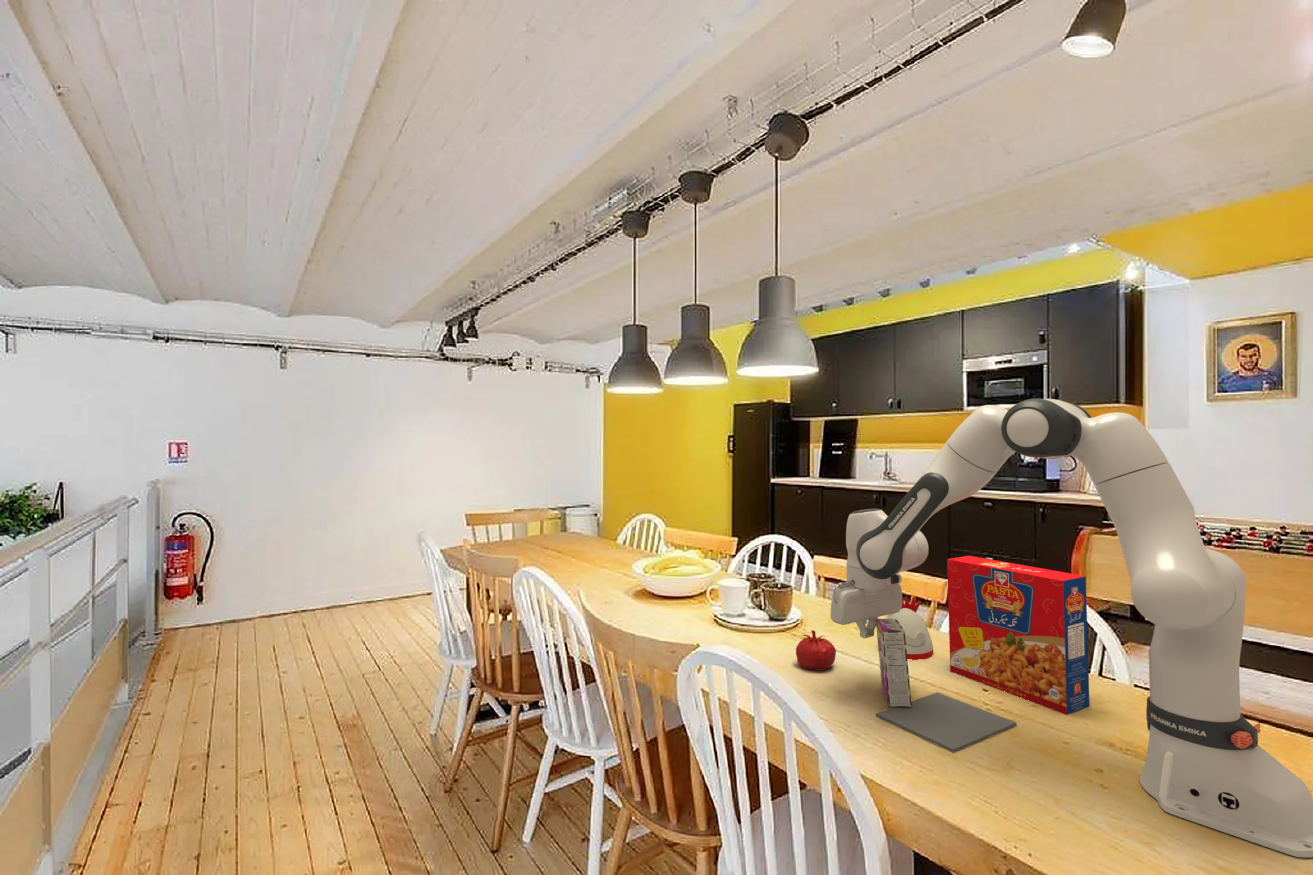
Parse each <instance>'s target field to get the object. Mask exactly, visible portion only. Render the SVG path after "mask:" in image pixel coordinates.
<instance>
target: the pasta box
mask: <svg viewBox="0 0 1313 875" xmlns="http://www.w3.org/2000/svg"><path fill="white" fill-rule="evenodd" d="M946 562H947V564H946V565H947V566H946V568H947V569H946V570H947V571H946V572H947V573H946V574H947V597H948V598H947V603H948V606H947V607H948V637H949V672H950V673H953V674H955V673H956V674H955V675H958V676H961V677H964V678H966V679H968V680H972V681H974V682H977V683H979V682H980V684H983V685H985V686H988V687H991V688H994V689H995V690H998V691H1001V692H1004V691H1005V692H1004V693H1006V692H1007V694H1009V695H1012V696H1014V697H1017V696H1018V697H1017V698H1020V697H1021V698H1020V699H1022V698H1023V700H1026V701H1028V700H1029V701H1028V702H1030V701H1031V703H1033V702H1034V704H1036V705H1039V706H1041V705H1042V707H1044V708H1047V709H1050V710H1053V711H1055V712H1058V713H1059V714H1060V713H1061V714H1063V715H1066V716H1069V715H1071V714H1074V713H1076V712H1079V711H1082V710H1084V709H1088V708H1090V679H1089V678H1090V676H1089V675H1090V674H1089V646H1088V645H1089V642H1088V640H1089V639H1088V638H1089V637H1088V611H1087V610H1088V608H1087V606H1088V605H1087V604H1088V603H1087V577H1086V575H1080V574H1075V573H1069V572H1063V571H1058V570H1053V569H1052V570H1051V569H1047V568H1041V567H1036V566H1029V565H1024V564H1018V563H1012V562H1008V561H1007V562H1006V561H1001V560H994V559H989V558H983V557H978V556H973V555H964V556H959V557H953V558H948V559H946Z"/></svg>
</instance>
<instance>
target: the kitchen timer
mask: <svg viewBox="0 0 1313 875" xmlns="http://www.w3.org/2000/svg"><path fill="white" fill-rule="evenodd" d="M904 600H905V601H904ZM920 604H921V601H920V600H918V601H917V602H916V597H914V596H912V597H911V600H910V601H909V597H908V596H907V595H905V599H904V598H903V597H902V607H901V610H900V611H899V612H898V613H893V614H889V615H887V617H886V618H885V619H897V620H898V622H899V623H900V625H901V626H902V628H903V630H904V631H905V642H906V650H907V659H912V660H911V661H919V660H918V659H923V660H926V659H927V660H928V659H930V658H932V657H933V656H932V655H934V646H933V640H932V638H931V635H930V632H929V629H928V627H927V626H928V624H927V623H926V622H925V621H924V619H922V618H921V616H920V615H919V614H918V613H917V612H918V609H919V608H920Z"/></svg>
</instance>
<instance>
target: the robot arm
mask: <svg viewBox="0 0 1313 875" xmlns="http://www.w3.org/2000/svg"><path fill="white" fill-rule="evenodd" d="M1015 453H1017V454H1019V455H1022V456H1024V457H1028V458H1034V459H1035V458H1036V459H1038V458H1039V459H1046V460H1054V459H1061V458H1070V457H1073V458H1075V459H1077V460H1078V461H1080V463H1081V464H1082V465H1083V466H1084V468H1085V469H1086V472H1087V473H1088V475H1089V477H1090V479H1091V481H1092V483H1093V486H1094V488H1095V490H1096V492H1097V493H1098V496H1099V497H1100V500H1101V502H1102V503H1103V506H1104V508H1105V510H1106V512H1107V514H1108V516H1109V517H1110V518H1109V519H1111V521H1112V524H1113V526H1114V529H1115V531H1116V533H1117V537H1118V540H1119V544H1120V547H1121V550H1122V555H1123V558H1124V562H1125V565H1126V569H1127V573H1128V576H1129V579H1130V583H1131V584H1130V596H1131V600H1132V602H1133V604H1134V607H1135V608H1136V610H1137V611H1138V612H1139V614H1140V615H1141V616H1142V617H1143V618H1144V619H1146V620H1147V621H1149V622H1150V623H1152V624H1153V625H1154V628H1153V629H1154V630H1153V634H1152V640H1151V641H1150V642H1151V643H1150V646H1149V650H1148V677H1149V678H1148V680H1149V681H1148V682H1149V684H1148V685H1149V696H1148V697H1147V698H1146V709H1145V713H1146V714H1145V715H1146V716H1145V717H1146V724H1147V725H1146V727H1147V730H1148V732H1149V734H1148V745H1147V752H1146V756H1145V757H1146V758H1145V762H1144V766H1143V768H1142V772H1141V774H1140V777H1139V782H1140V783H1139V784H1140V786H1142V787H1143V788H1142V789H1144V790H1145V791H1146V792H1147V793H1148V794H1149V795H1151V796H1152V797H1153V799H1155V800H1156V801H1157V802H1158V804H1159V806H1160V808H1161V809H1162V810H1163V811H1164V812H1166V813H1168V814H1171V815H1173V816H1176V817H1179V818H1182V819H1185V820H1188V821H1190V822H1193V823H1196V824H1199V825H1202V826H1205V827H1208V828H1210V829H1214V830H1216V831H1220V832H1222V833H1225V834H1228V835H1231V836H1235V837H1236V838H1240V839H1243V840H1246V841H1249V842H1251V843H1254V844H1256V845H1260V846H1263V847H1266V848H1269V849H1271V850H1274V851H1277V852H1281V853H1284V854H1287V855H1289V856H1293V857H1296V858H1313V798H1312V794H1311V792H1310V790H1309V788H1308V786H1307V785H1306V783H1305V782H1304V781H1303V780H1302V779H1301V778H1300V777H1298V776H1297V775H1296V774H1295V773H1293V771H1291V770H1290V769H1288V768H1287V767H1286V766H1284V765H1283V764H1282V763H1280V761H1278V760H1277V759H1276V758H1275V757H1273V756H1272V755H1271V754H1270V753H1269V752H1267V751H1266V750H1265V749H1263V748H1262V747H1261V746H1260V745H1259V733H1261V723H1256V724H1255V725H1253V724H1251V723H1250V722H1249V721H1248V720H1247V719H1246V718H1245V717H1244V716H1243V714H1241V700H1240V699H1241V691H1240V688H1241V687H1240V659H1241V651H1242V646H1243V645H1242V644H1243V637H1244V636H1243V635H1244V624H1245V611H1246V610H1245V609H1246V594H1247V593H1246V592H1247V579H1246V574H1245V573H1244V570H1243V568H1242V567H1241V565H1240V564H1238V562H1236V561H1235V560H1234V559H1233V558H1232V557H1230V556H1228V555H1226V554H1225V553H1222V552H1219V551H1217V550H1213V549H1210V548H1206V547H1205V545H1204V542H1203V538H1202V535H1201V532H1200V529H1199V526H1198V523H1197V519H1196V514H1195V508H1194V505H1193V504H1192V502H1191V499H1190V498H1189V496H1188V494H1187V493H1186V491H1185V489H1184V487H1183V485H1182V483H1181V481H1180V480H1179V478H1178V476H1177V475H1176V472H1175V471H1174V468H1173V466H1172V465H1171V464H1170V463H1169V460H1168V458H1167V456H1166V455H1165V452H1164V451H1163V450H1162V448H1161V447H1160V446H1159V443H1157V441H1156V440H1155V438H1154V437H1153V436H1152V434H1151V433H1150V431H1148V430H1147V428H1146V427H1145V426H1144V425H1143V424H1142V422H1141V421H1140V420H1139V419H1138V418H1137V417H1135V416H1134V415H1132V414H1130V413H1126V412H1120V411H1119V412H1108V413H1103V414H1099V415H1097V416H1095V417H1092V416H1091V415H1090V414H1089V412H1088V411H1087V410H1086V409H1084V408H1083V407H1081V406H1080V405H1078V404H1076V403H1071V402H1066V401H1064V400H1060V399H1054V398H1030V399H1029V398H1028V399H1025V400H1022V401H1020V402H1018V403H1015V404H1014V405H1013V406H1011V407H1010V408H1009V409H1006V408H1005V407H1002V406H999V405H995V404H994V405H993V404H985V405H981V406H979V407H977V408H976V409H975V410H974V411H973V412H972V413H971V414H969V416H968V417H966V418H965V419H964V420H963V421H962V422H961V424H959V426H958V427H957V428H956V429H955V430H954V431H953V433H951V436H949V438H948V439H947V441H946V442H945V443H944V444H943V446H942V448H941V449H940V450H939V452H938V453H937V454H936V455H935V457H934V458H933V460H932V462H931V463H930V464H929V466H928V467H927V468H926V469H925V471H924V472H923V473H922V474H921V476H920V478H918V480H917V482H916V483H915V484H914V485H913V486H912V487H911V489H909V491H908V492H907V493H906V494H905V495H904V497H903V498H902V499H901V500H900V501H899V502H898V504H897V505H896V506H895V507H894V509H892V511H891V512H890V513H889V514H888V515H887V514H886V513H885V512H884V511H883V510H882V509H880V508H868V509H867V508H866V509H865V508H864V509H859V510H854V511H852V512H851V513H850V514H849V515H848V516H847V517H848V518H847V521H846V529H845V546H846V550H847V558H846V559H847V560H846V565H845V566H846V568H845V569H846V581H844V582H843V581H842V582H838V583H837V584H836V585H835V587H834V588H833V591H832V592H833V593H832V596H831V604H830V620H832V622H833V623H835V624H839V625H842V626H845V625H850V624H854V623H855V624H856V626H857V628H858V629H859V637H860V638H863V639H869V638H871V637H875V629H876V619H879V618H880V617H884V616H889V615H890V614H893V613H898V612H899V611H900V610H901V607H902V598H903V593H902V592H903V590H902V586H901V583H902V578H903V577H902V575H901V574H900V573H903V572H905V571H909V570H911V569H914V568H917V567H919V566H921V565H922V564H924V563H925V562H926V561H927V559H928V556H929V552H930V545H929V541H928V539H927V537H926V535H925V534H924V533H923V532H922V531H921V529H922V527H923V526H925V524H926V523H927V522H928V521H929V519H931V518H932V516H934V515H935V514H936V513H938V512H940V510H942V509H944V508H946V507H948V506H950V505H953V504H955V503H957V502H959V501H962V500H965V499H967V498H971V497H972V496H974V495H975V494H977V493H978V492H979V491H980V490H981V489H982V488H984V487H985V486H986V485H987V484H988V483H989V482H990V481H991V480H992V479H993V478H994V477H995V475H996V474H997V473H998V472H999V470H1000V469H1001V468H1002V466H1003V465H1004V464H1005V462H1006V461H1007V460H1008V459H1009V458H1010V457H1011V456H1012V455H1013V454H1015Z"/></svg>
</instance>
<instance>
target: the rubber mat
mask: <svg viewBox="0 0 1313 875" xmlns="http://www.w3.org/2000/svg"><path fill="white" fill-rule="evenodd" d="M911 703H912V707H889V708H887V709H885V710H882V711H879V712H876V713H875V717H877V718H879V719H881V720H884V721H885V722H887V723H888V724H889V723H890V724H892V725H893V726H895V727H898V728H900V729H902V730H904V731H906V732H909V733H911V734H912V735H915V736H917V737H919V738H922V739H924V740H926V741H928V742H930V743H932V744H935V745H936V746H938V747H941V748H943V749H945V750H947V751H949V752H951V753H952V754H953V753H956V752H958V751H960V750H963V749H966V748H967V747H970V746H972V745H975V744H977V743H980V742H981V741H984V740H987V739H988V738H991V737H993V736H995V735H998V734H1000V733H1003V732H1006V731H1007V730H1009V729H1012V728H1015V727H1017V722H1016V721H1014V720H1011V719H1008V718H1005V717H1002V716H1000V715H998V714H995V713H992V712H991V711H990V712H989V711H987V710H985V709H982V708H979V707H976V706H974V705H971V704H969V703H967V702H964V701H962V700H959V699H956V698H954V697H951V696H948V695H945V694H943V693H940V692H938V691H937V692H935V693H930V694H928V695H925V696H923V697H919V698H917V699H913V700H911Z"/></svg>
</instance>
